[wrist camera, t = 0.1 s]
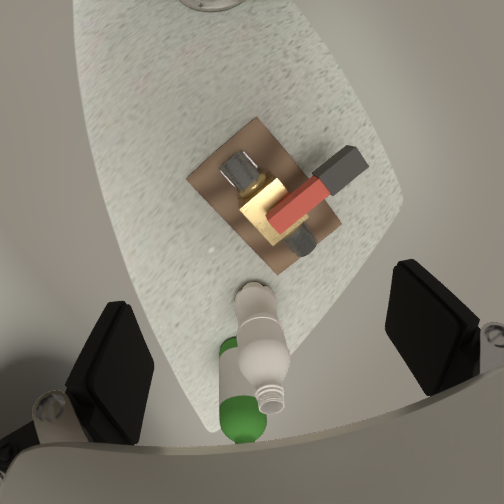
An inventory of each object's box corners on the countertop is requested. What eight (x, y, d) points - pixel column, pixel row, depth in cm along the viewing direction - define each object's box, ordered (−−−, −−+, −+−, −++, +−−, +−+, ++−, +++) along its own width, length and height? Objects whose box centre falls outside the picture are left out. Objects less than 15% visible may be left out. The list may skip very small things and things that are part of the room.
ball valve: (213, 171, 42) (210, 178, 36) (246, 143, 41) (249, 145, 35) (287, 253, 48) (296, 272, 42) (318, 229, 47) (330, 244, 41)
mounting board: (187, 177, 43) (185, 179, 42) (256, 117, 41) (256, 117, 39) (276, 271, 51) (277, 275, 50) (339, 221, 48) (342, 223, 47)
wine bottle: (247, 329, 56) (263, 470, 29) (262, 354, 59) (283, 484, 32) (212, 342, 57) (209, 479, 30) (229, 366, 60) (235, 493, 33)
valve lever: (262, 210, 38) (266, 220, 34) (343, 144, 35) (356, 146, 31) (276, 226, 39) (281, 237, 35) (355, 162, 36) (369, 166, 32)
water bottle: (226, 288, 52) (228, 402, 29) (262, 270, 51) (288, 380, 28) (245, 316, 55) (258, 428, 32) (279, 300, 54) (310, 410, 31)
